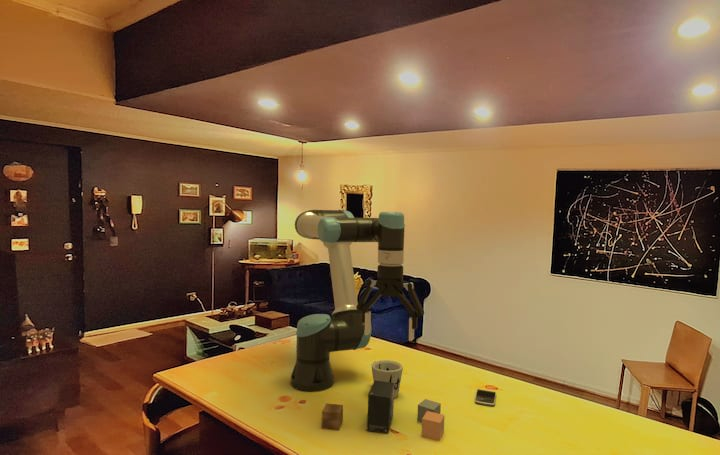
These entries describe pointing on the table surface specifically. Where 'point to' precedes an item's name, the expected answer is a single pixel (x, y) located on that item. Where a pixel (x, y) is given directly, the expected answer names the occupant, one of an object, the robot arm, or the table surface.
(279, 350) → the table surface
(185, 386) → the table surface
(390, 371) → the mug
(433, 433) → the terracotta cube
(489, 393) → the cell phone
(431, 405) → the slate cube
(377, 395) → the small box
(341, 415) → the walnut cube
